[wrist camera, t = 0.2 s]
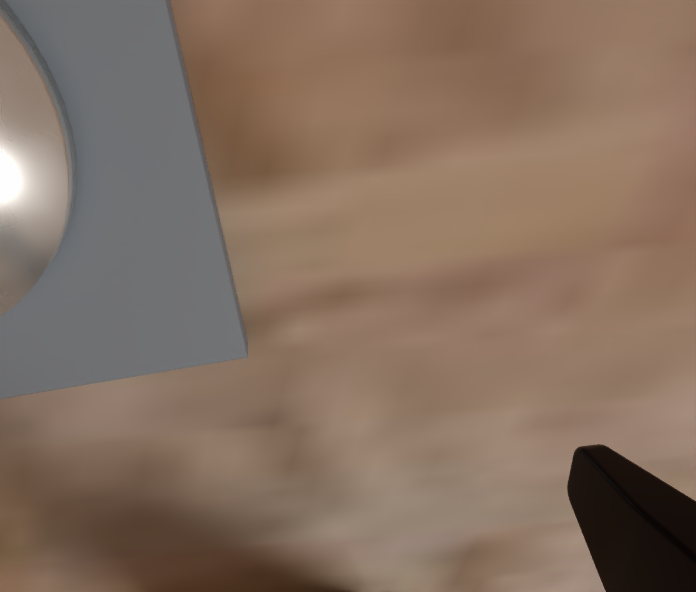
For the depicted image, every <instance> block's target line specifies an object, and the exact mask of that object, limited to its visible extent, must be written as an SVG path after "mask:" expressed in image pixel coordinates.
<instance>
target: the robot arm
mask: <svg viewBox="0 0 696 592" xmlns="http://www.w3.org/2000/svg"><path fill="white" fill-rule="evenodd" d="M567 488H568V496H569V500H570V503H571V505H572V508H573V510H574V513H575V516H576V518H577V521H578V523H579V526H580V528H581V531H582V533H583V536H584V538H585V541H586V543H587V546H588V548H589V551H590V554H591V556H592V559H593V561H594V564H595V566H596V569H597V571H598V574H599V576H600V579H601V581H602V583H603V586H604V588H605V591H606V592H696V501H694V500H693V499H691V498H690V497H688V496H686V495H685V494H683V493H681V492H680V491H678V490H677V489H675V488H673V487H672V486H670V485H669V484H667V483H665V482H664V481H662V480H660V479H659V478H657V477H656V476H654V475H652V474H651V473H649V472H647V471H646V470H644V469H643V468H641V467H639V466H638V465H636V464H634V463H633V462H631V461H630V460H628V459H626V458H625V457H623V456H621V455H620V454H618V453H617V452H615V451H613V450H612V449H610V448H609V447H607V446H604V445H600V444H598V445H589V446H581V447H578V448H577V449H576V450H575V452H574V455H573V460H572V465H571V470H570V475H569V480H568V486H567Z"/></svg>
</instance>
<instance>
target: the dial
mask: <svg viewBox="0 0 696 592" xmlns="http://www.w3.org/2000/svg"><path fill="white" fill-rule="evenodd" d="M76 191H77V155H76V148H75V141H74V135H73V130H72V126H71V123H70V119H69V116H68V112H67V109H66V105H65V102H64V100H63V97H62V95H61V93H60V90H59V88H58V85H57V83H56V81H55V78H54V76H53V73H52V72H51V70H50V68H49V66H48V65H47V63H46V61H45V59H44V57H43V56H42V54H41V52H40V50H39V49H38V47H37V45H36V43H35V42H34V40H33V39H32V38H31V36H30V35H29V33H28V32H27V31H26V29H25V28H24V26H23V25H22V24H21V22H20V21H19V19H18V18H17V17H16V15H15V14H14V13H13V12H12V10H11V9H10V8H9V7H8V6H7V5H6V4H5V2H4V1H3V0H0V316H1V315H3V314H4V313H6V312H7V311H8V310H10V309H11V308H12V307H14V306H15V305H16V304H17V303H18V302H19V301H20V300H21V299H22V298H23V297H24V296H25V295H26V294H27V293H28V292H29V291H30V290H31V289H32V288H33V286H34V285H35V284H36V282H37V281H38V280H39V278H40V277H41V275H42V274H43V273H44V271H45V270H46V268H47V267H48V265H49V264H50V262H51V261H52V260H53V258H54V257H55V255H56V254H57V252H58V250H59V248H60V246H61V244H62V242H63V240H64V238H65V236H66V234H67V231H68V227H69V224H70V221H71V218H72V215H73V211H74V205H75V198H76Z"/></svg>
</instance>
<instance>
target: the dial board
mask: <svg viewBox="0 0 696 592" xmlns="http://www.w3.org/2000/svg"><path fill="white" fill-rule="evenodd" d="M3 1H4V2H5V4H6V5H7V6H8V7H9V8H10V9H11V10H12V12H13V13H14V14H15V15H16V17H17V18H18V19H19V21H20V22H21V24H22V25H23V26H24V28H25V29H26V31H27V32H28V33H29V35H30V36H31V38H32V39H33V40H34V42H35V43H36V45H37V47H38V49H39V50H40V52H41V54H42V56H43V57H44V59H45V61H46V63H47V65H48V66H49V68H50V70H51V72H52V73H53V76H54V78H55V81H56V83H57V85H58V88H59V90H60V93H61V95H62V97H63V100H64V102H65V105H66V109H67V112H68V116H69V119H70V123H71V126H72V130H73V135H74V141H75V148H76V155H77V191H76V198H75V205H74V211H73V215H72V218H71V221H70V224H69V227H68V231H67V234H66V236H65V238H64V240H63V242H62V244H61V246H60V248H59V250H58V252H57V254H56V255H55V257H54V258H53V260H52V261H51V262H50V264H49V265H48V267H47V268H46V270H45V271H44V273H43V274H42V275H41V277H40V278H39V280H38V281H37V282H36V284H35V285H34V286H33V288H32V289H31V290H30V291H29V292H28V293H27V294H26V295H25V296H24V297H23V298H22V299H21V300H20V301H19V302H18V303H17V304H16V305H15V306H14V307H12V308H11V309H10V310H8V311H7V312H6V313H4V314H3V315H1V316H0V399H3V398H9V397H14V396H20V395H26V394H32V393H38V392H44V391H50V390H56V389H62V388H68V387H74V386H80V385H86V384H92V383H98V382H104V381H110V380H116V379H122V378H128V377H134V376H140V375H146V374H152V373H158V372H164V371H170V370H176V369H182V368H188V367H194V366H200V365H205V364H211V363H217V362H223V361H229V360H235V359H241V358H247V357H248V342H247V338H246V333H245V329H244V325H243V320H242V316H241V311H240V307H239V303H238V298H237V294H236V289H235V285H234V281H233V276H232V272H231V267H230V263H229V259H228V254H227V250H226V245H225V241H224V237H223V232H222V228H221V223H220V219H219V215H218V210H217V206H216V201H215V197H214V193H213V188H212V184H211V179H210V175H209V171H208V166H207V162H206V157H205V153H204V149H203V144H202V140H201V135H200V131H199V127H198V122H197V118H196V113H195V109H194V105H193V100H192V96H191V91H190V87H189V83H188V78H187V74H186V69H185V65H184V61H183V56H182V52H181V47H180V43H179V39H178V34H177V30H176V25H175V21H174V17H173V12H172V8H171V3H170V0H3Z"/></svg>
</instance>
